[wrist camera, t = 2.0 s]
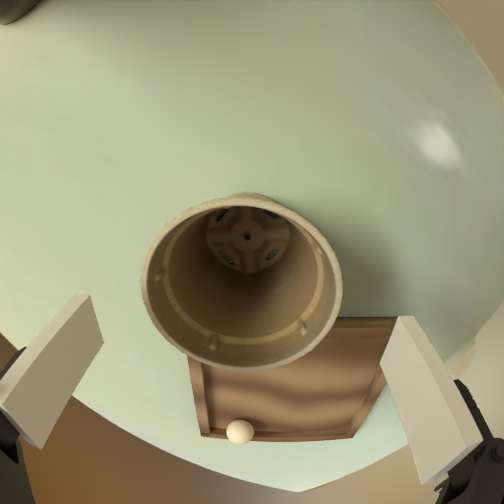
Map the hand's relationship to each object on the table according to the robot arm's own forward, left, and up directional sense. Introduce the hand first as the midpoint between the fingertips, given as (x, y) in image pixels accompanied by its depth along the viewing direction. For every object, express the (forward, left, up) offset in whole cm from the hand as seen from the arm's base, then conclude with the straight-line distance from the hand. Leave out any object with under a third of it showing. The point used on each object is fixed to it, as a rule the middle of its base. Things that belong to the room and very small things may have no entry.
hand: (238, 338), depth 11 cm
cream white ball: (+23, 0, -10) cm, 25 cm away
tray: (+17, +5, -11) cm, 20 cm away
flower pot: (0, 0, -11) cm, 11 cm away
